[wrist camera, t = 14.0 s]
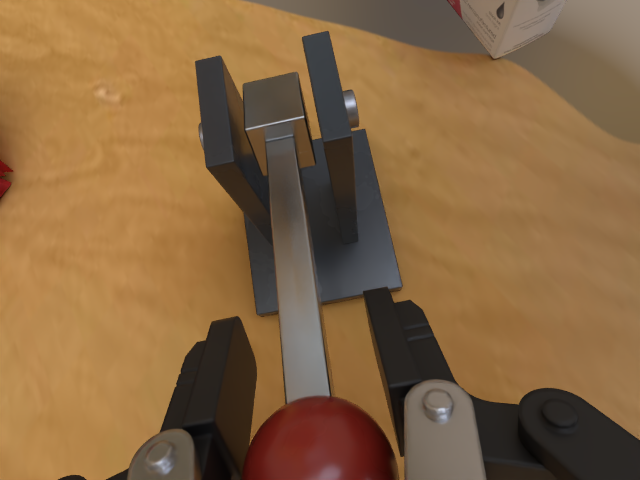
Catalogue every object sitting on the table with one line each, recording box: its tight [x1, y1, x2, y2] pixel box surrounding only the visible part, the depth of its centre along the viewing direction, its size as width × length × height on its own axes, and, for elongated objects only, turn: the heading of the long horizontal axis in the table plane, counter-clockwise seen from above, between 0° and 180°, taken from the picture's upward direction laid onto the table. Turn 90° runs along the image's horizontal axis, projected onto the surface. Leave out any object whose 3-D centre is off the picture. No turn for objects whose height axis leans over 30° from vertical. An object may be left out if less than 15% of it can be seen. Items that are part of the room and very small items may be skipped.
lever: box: [241, 72, 399, 480], centre depth 12 cm, size 15×3×3 cm, turn 11°
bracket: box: [195, 31, 403, 317], centre depth 21 cm, size 11×9×14 cm
